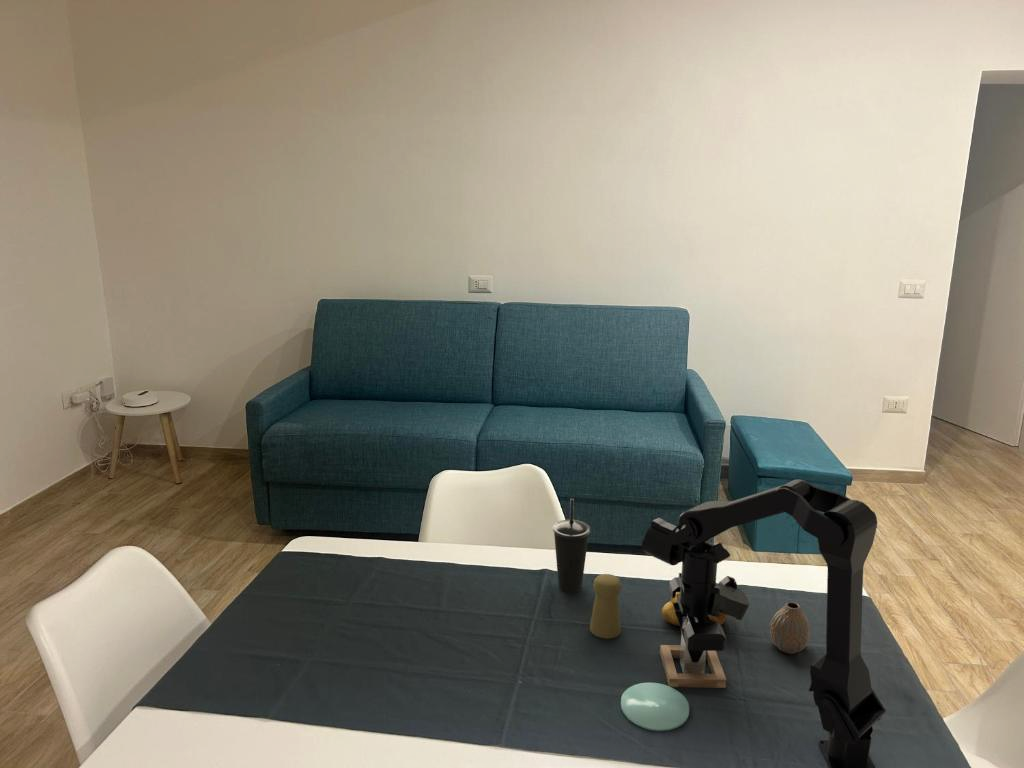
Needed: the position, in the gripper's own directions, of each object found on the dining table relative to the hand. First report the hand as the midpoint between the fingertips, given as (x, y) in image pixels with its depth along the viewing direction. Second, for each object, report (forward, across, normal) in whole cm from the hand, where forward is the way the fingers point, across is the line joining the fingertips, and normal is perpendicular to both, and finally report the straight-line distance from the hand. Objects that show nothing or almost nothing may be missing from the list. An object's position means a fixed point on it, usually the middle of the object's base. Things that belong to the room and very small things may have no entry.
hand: (692, 654), depth 139 cm
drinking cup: (+3, +27, +20) cm, 34 cm away
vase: (+3, +7, -19) cm, 20 cm away
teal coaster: (+3, -10, +8) cm, 13 cm away
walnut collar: (+3, 0, 0) cm, 3 cm away
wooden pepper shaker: (+3, +12, +14) cm, 19 cm away
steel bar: (+2, 0, 0) cm, 2 cm away
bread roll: (+3, +16, -4) cm, 16 cm away
